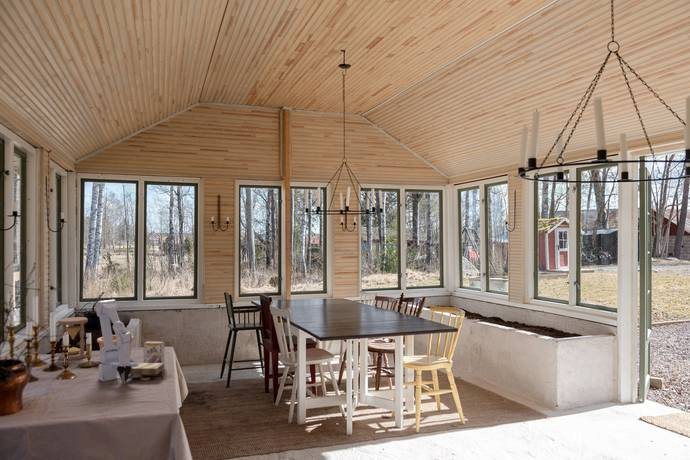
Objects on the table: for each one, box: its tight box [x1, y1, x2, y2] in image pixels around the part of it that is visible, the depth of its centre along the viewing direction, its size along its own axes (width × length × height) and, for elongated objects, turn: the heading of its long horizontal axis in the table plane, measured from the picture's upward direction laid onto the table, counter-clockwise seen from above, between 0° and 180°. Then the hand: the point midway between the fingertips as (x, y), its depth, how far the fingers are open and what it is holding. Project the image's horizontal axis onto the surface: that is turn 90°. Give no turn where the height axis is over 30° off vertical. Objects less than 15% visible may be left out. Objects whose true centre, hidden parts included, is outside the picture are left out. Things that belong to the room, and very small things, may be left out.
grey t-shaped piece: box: [120, 372, 143, 385], centre depth 310 cm, size 8×15×6 cm, turn 177°
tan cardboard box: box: [129, 362, 166, 377], centre depth 315 cm, size 17×12×7 cm
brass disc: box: [140, 376, 151, 381], centre depth 313 cm, size 5×5×1 cm
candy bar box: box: [143, 340, 166, 369], centre depth 333 cm, size 11×5×16 cm, turn 84°
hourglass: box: [57, 316, 89, 361], centre depth 367 cm, size 18×18×25 cm
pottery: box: [96, 334, 135, 362], centre depth 358 cm, size 22×22×14 cm
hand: (124, 380), depth 304 cm, fingers closed on grey t-shaped piece
